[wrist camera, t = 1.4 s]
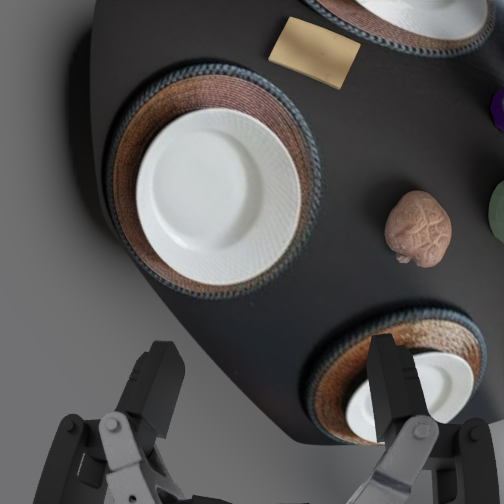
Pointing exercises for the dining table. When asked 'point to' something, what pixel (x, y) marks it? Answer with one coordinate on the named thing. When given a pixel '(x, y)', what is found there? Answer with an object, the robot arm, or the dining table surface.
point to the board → (314, 52)
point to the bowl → (497, 212)
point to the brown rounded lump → (418, 229)
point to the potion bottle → (497, 110)
